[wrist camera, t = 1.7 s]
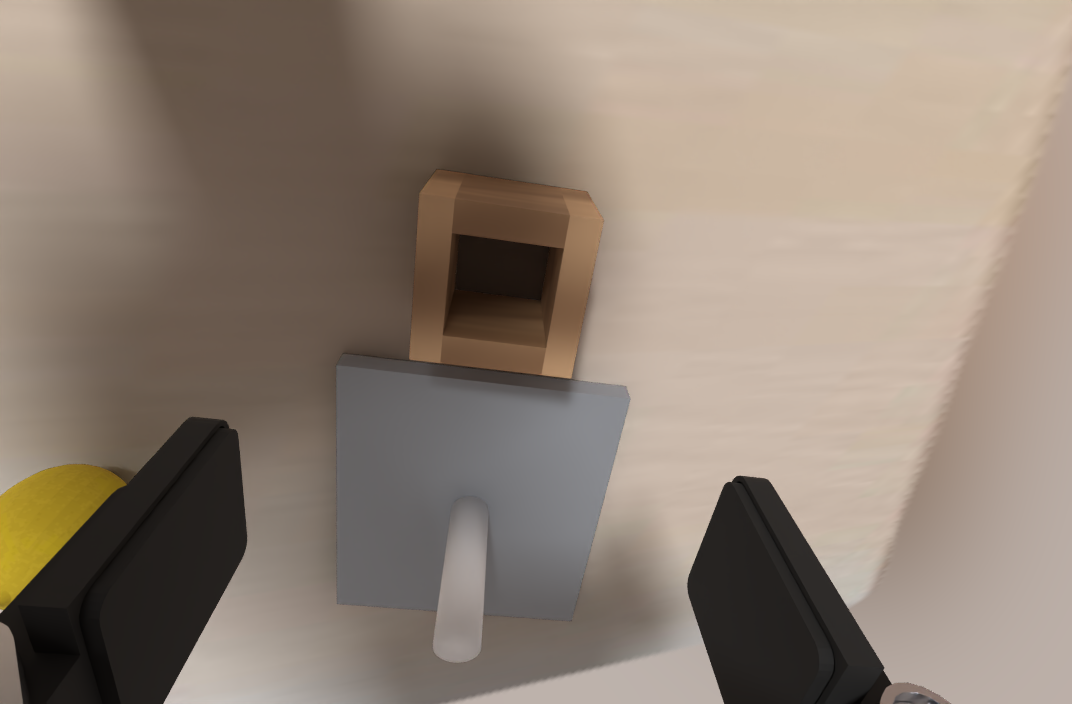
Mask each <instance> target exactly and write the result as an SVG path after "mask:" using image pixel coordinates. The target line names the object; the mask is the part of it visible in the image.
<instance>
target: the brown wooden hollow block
mask: <svg viewBox="0 0 1072 704" xmlns="http://www.w3.org/2000/svg"><path fill="white" fill-rule="evenodd" d="M603 222H604V220H603V218H602V216H601V215H600V213H599V211H598V209H597V208H596V206H595V204H594V202H593V201H592V199H591V197H590V196H589V194H588V192H586V191H579V190H573V189H566V188H559V187H553V186H546V185H540V184H533V183H526V182H520V181H513V180H506V179H500V178H493V177H486V176H480V175H473V174H467V173H460V172H453V171H447V170H440V169H436V171H435V172H434V174H433V175H432V176H431V178H430V179H429V181H428V182H427V183H426V185H425V186H424V187H423V189H422V190H421V192H420V193H419V206H418V222H417V238H416V255H415V271H414V287H413V304H412V320H411V337H410V353H409V360H417V361H425V362H434V363H442V364H451V365H459V366H468V367H476V368H485V369H494V370H502V371H511V372H519V373H528V374H536V375H545V376H553V377H562V378H570V379H571V377H572V372H573V367H574V362H575V357H576V353H577V348H578V343H579V338H580V333H581V328H582V324H583V319H584V314H585V309H586V304H587V299H588V295H589V290H590V285H591V280H592V275H593V270H594V266H595V261H596V256H597V251H598V246H599V242H600V237H601V232H602V227H603ZM460 234H462V235H470V236H477V237H484V238H491V239H498V240H505V241H512V242H520V243H527V244H534V245H541V246H548V247H550V248H549V254H548V260H547V266H546V272H545V278H544V284H543V290H542V296H541V300H533V299H525V298H518V297H510V296H502V295H495V294H487V293H479V292H472V291H464V290H456V289H455V280H456V270H457V259H458V249H459V238H460Z"/></svg>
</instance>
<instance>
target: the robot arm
mask: <svg viewBox="0 0 1072 704" xmlns="http://www.w3.org/2000/svg"><path fill="white" fill-rule="evenodd" d="M246 545H247V530H246V519H245V507H244V496H243V485H242V473H241V462H240V451H239V439H238V433H237V431H236V430H234V429H229V426H228V424H227V422H226V421H224V420H218V419H208V418H199V417H190V418H188V419H187V420H186V421H185V422H184V423H183V424H182V425H181V426H180V427H179V428H178V429H177V431H176V432H175V433H174V434H173V435H172V436H171V437H170V438H169V439H168V440H167V442H166V443H165V444H164V445H163V446H162V447H161V448H160V449H159V450H158V451H157V453H156V454H155V455H154V456H153V457H152V458H151V459H150V460H149V461H148V462H147V463H146V465H145V466H144V467H143V468H142V469H141V470H140V471H139V472H138V473H137V474H136V476H135V477H134V478H133V479H132V480H131V481H130V482H129V483H128V484H127V485H126V486H123V487H120V488H118V489H117V490H116V491H115V492H113V493H112V494H111V495H110V496H109V497H108V498H107V499H106V500H105V502H104V503H103V504H102V505H101V506H100V507H99V508H98V509H97V510H96V511H95V512H94V513H93V514H92V516H91V517H90V518H89V519H88V520H87V521H86V522H85V523H84V524H83V525H82V526H81V527H80V528H79V530H78V531H77V532H76V533H75V534H74V535H73V536H72V537H71V538H70V539H69V540H68V541H67V542H66V544H65V545H64V546H63V547H62V548H61V549H60V550H59V551H58V552H57V553H56V554H55V555H54V556H53V558H52V559H51V560H50V561H49V562H48V563H47V564H46V565H45V566H44V567H43V568H42V569H41V570H40V572H39V573H38V574H37V575H36V576H35V577H34V578H33V579H32V580H31V581H30V582H29V583H28V584H27V586H26V587H25V588H24V589H23V590H22V591H21V592H20V593H19V594H18V595H17V596H16V597H15V598H14V600H13V601H12V602H11V603H10V604H9V605H8V606H7V607H6V608H5V609H4V610H3V611H2V612H1V614H0V704H163V703H164V701H165V699H166V698H167V696H168V694H169V692H170V690H171V688H172V686H173V685H174V683H175V681H176V679H177V677H178V675H179V674H180V672H181V670H182V668H183V666H184V664H185V663H186V661H187V659H188V657H189V655H190V653H191V652H192V650H193V648H194V646H195V644H196V642H197V641H198V639H199V637H200V635H201V633H202V631H203V630H204V628H205V626H206V624H207V622H208V620H209V619H210V617H211V615H212V613H213V611H214V609H215V608H216V606H217V604H218V602H219V600H220V598H221V596H222V595H223V593H224V591H225V589H226V587H227V585H228V584H229V582H230V580H231V578H232V576H233V574H234V573H235V571H236V569H237V567H238V565H239V563H240V562H241V560H242V558H243V555H244V553H245V549H246ZM687 588H688V595H689V598H690V601H691V604H692V607H693V610H694V614H695V617H696V620H697V623H698V626H699V629H700V632H701V635H702V638H703V641H704V644H705V647H706V650H707V653H708V656H709V659H710V662H711V665H712V668H713V671H714V674H715V677H716V680H717V683H718V686H719V689H720V692H721V695H722V698H723V701H724V704H951V703H949V702H948V701H947V700H945V699H944V698H943V697H941V696H940V695H938V694H936V693H934V692H932V691H930V690H928V689H926V688H924V687H922V686H918V685H915V684H911V683H894V684H891V682H890V681H889V679H888V677H887V676H886V674H885V672H884V671H883V669H884V666H883V665H882V663H881V661H880V660H879V658H878V657H877V655H876V653H875V652H874V650H873V649H872V647H871V645H870V644H869V642H868V641H867V639H866V637H865V635H864V634H863V632H862V631H861V629H860V627H859V626H858V624H857V622H856V621H855V619H854V617H853V616H852V614H851V613H850V612H849V609H848V608H847V606H846V604H845V603H844V601H843V600H842V598H841V596H840V595H839V593H838V591H837V590H836V588H835V587H834V585H833V583H832V582H831V580H830V578H829V577H828V575H827V574H826V572H825V570H824V569H823V567H822V565H821V564H820V562H819V561H818V559H817V557H816V556H815V554H814V552H813V551H812V549H811V547H810V546H809V544H808V543H807V541H806V539H805V538H804V536H803V534H802V533H801V531H800V530H799V528H798V526H797V525H796V523H795V521H794V520H793V518H792V517H791V515H790V513H789V512H788V510H787V508H786V507H785V505H784V504H783V502H782V500H781V499H780V497H779V495H778V494H777V492H776V491H775V489H774V487H773V486H772V484H771V483H770V482H769V480H767V479H765V478H756V477H747V476H736V477H735V478H734V479H733V481H732V482H727V483H726V484H725V485H724V487H723V489H722V492H721V495H720V497H719V500H718V502H717V505H716V507H715V510H714V512H713V515H712V518H711V520H710V523H709V525H708V528H707V530H706V533H705V536H704V538H703V541H702V543H701V546H700V548H699V551H698V553H697V556H696V559H695V561H694V564H693V566H692V569H691V571H690V574H689V577H688V583H687Z"/></svg>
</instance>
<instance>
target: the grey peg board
mask: <svg viewBox="0 0 1072 704" xmlns="http://www.w3.org/2000/svg"><path fill="white" fill-rule="evenodd" d="M629 402H630V396H629V393H628V391H627V388H626V386H618V385H610V384H601V383H592V382H584V381H575V380H567V379H558V378H550V377H541V376H533V375H524V374H515V373H507V372H498V371H490V370H481V369H473V368H464V367H455V366H447V365H438V364H430V363H421V362H413V361H404V360H395V359H387V358H378V357H370V356H361V355H353V354H344V353H343V354H342V356H341V358H340V359H339V361H338V363H337V365H336V483H337V604H344V605H357V606H371V607H384V608H398V609H412V610H425V611H437V617H436V624H435V631H434V639H433V651H434V653H435V654H436V655H437V656H438V657H439V658H441V659H443V660H445V661H448V662H453V663H461V662H467V661H470V660H472V659H474V658H475V657H476V656H478V654H479V653H480V651H481V645H482V627H483V615H493V616H507V617H521V618H534V619H548V620H561V621H572V617H573V614H574V610H575V606H576V602H577V599H578V595H579V591H580V587H581V583H582V580H583V576H584V572H585V568H586V565H587V561H588V557H589V553H590V550H591V546H592V542H593V538H594V534H595V531H596V527H597V523H598V519H599V516H600V512H601V508H602V504H603V500H604V497H605V493H606V489H607V485H608V482H609V478H610V474H611V470H612V466H613V463H614V459H615V455H616V451H617V448H618V444H619V440H620V436H621V432H622V429H623V425H624V421H625V417H626V414H627V410H628V406H629Z"/></svg>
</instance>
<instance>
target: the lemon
mask: <svg viewBox="0 0 1072 704" xmlns="http://www.w3.org/2000/svg"><path fill="white" fill-rule="evenodd" d="M126 485H127V484H126V483H125V482H124V481H123V480H122V479H121V478H120V477H118V476H117V475H116V474H114V473H112V472H110V471H109V470H106V469H103V468H101V467H97V466H92V465H86V464H68V465H63V466H58V467H53V468H49V469H46V470H43V471H40V472H38V473H36V474H34V475H32V476H30V477H28V478H26V479H24V480H23V481H21V482H19V483H17V484H16V485H14V486H13V487H11V488H10V489H9V490H7V491H6V492H5V493H4V494H2V495H1V496H0V609H2V610H4V609H5V608H6V607H7V606H8V605H9V604H10V603H11V602H12V601H13V600H14V598H15V597H16V596H17V595H18V594H19V593H20V592H21V591H22V590H23V589H24V588H25V587H26V586H27V584H28V583H29V582H30V581H31V580H32V579H33V578H34V577H35V576H36V575H37V574H38V573H39V572H40V570H41V569H42V568H43V567H44V566H45V565H46V564H47V563H48V562H49V561H50V560H51V559H52V558H53V556H54V555H55V554H56V553H57V552H58V551H59V550H60V549H61V548H62V547H63V546H64V545H65V544H66V542H67V541H68V540H69V539H70V538H71V537H72V536H73V535H74V534H75V533H76V532H77V531H78V530H79V528H80V527H81V526H82V525H83V524H84V523H85V522H86V521H87V520H88V519H89V518H90V517H91V516H92V514H93V513H94V512H95V511H96V510H97V509H98V508H99V507H100V506H101V505H102V504H103V503H104V502H105V500H106V499H107V498H108V497H109V496H110V495H111V494H112V493H113V492H115V491H116V490H117V489H118V488H120V487H123V486H126Z"/></svg>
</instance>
